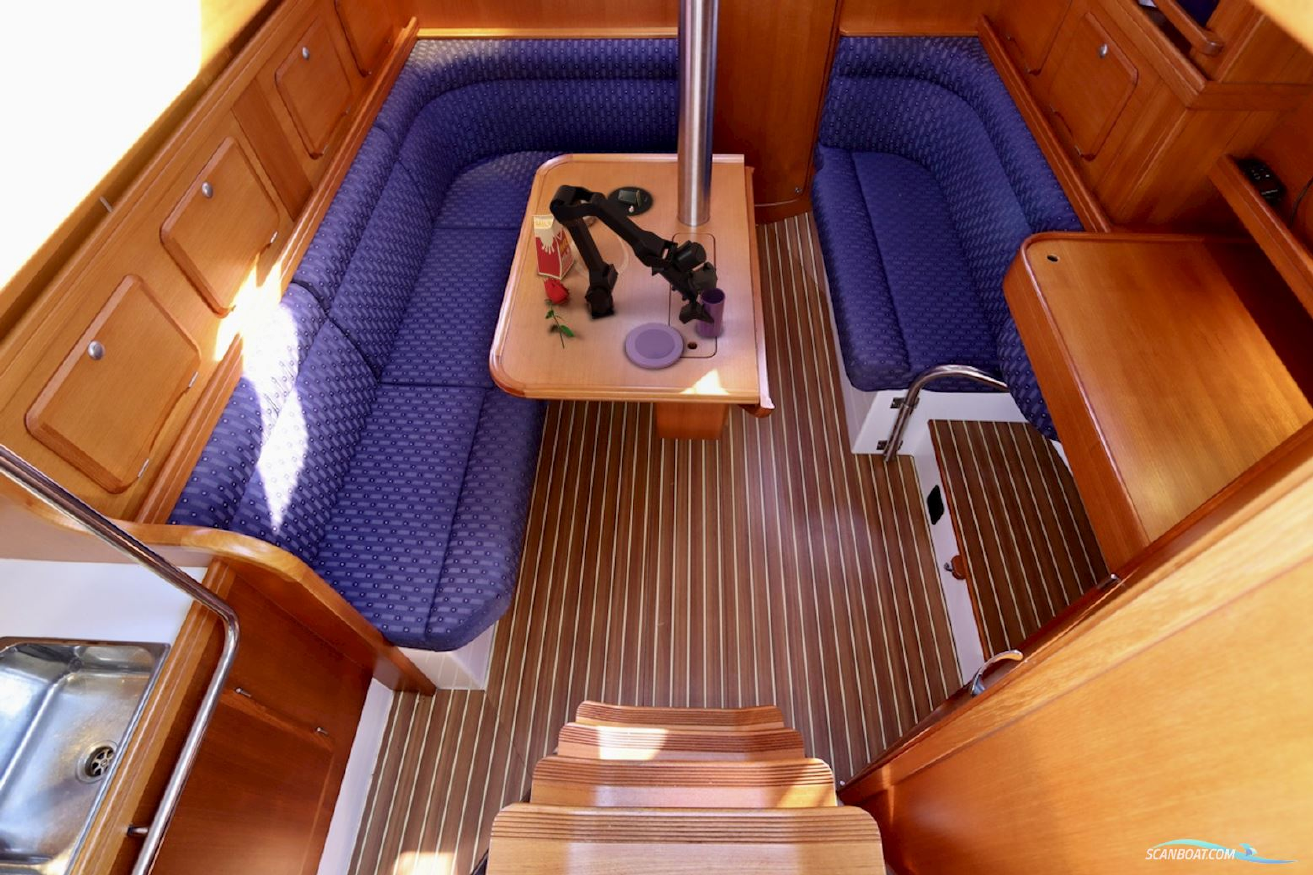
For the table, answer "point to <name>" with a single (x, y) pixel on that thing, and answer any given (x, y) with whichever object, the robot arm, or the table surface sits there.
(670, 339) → the plate
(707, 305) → the tumbler
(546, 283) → the flower
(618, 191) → the black dish
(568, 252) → the milk carton
